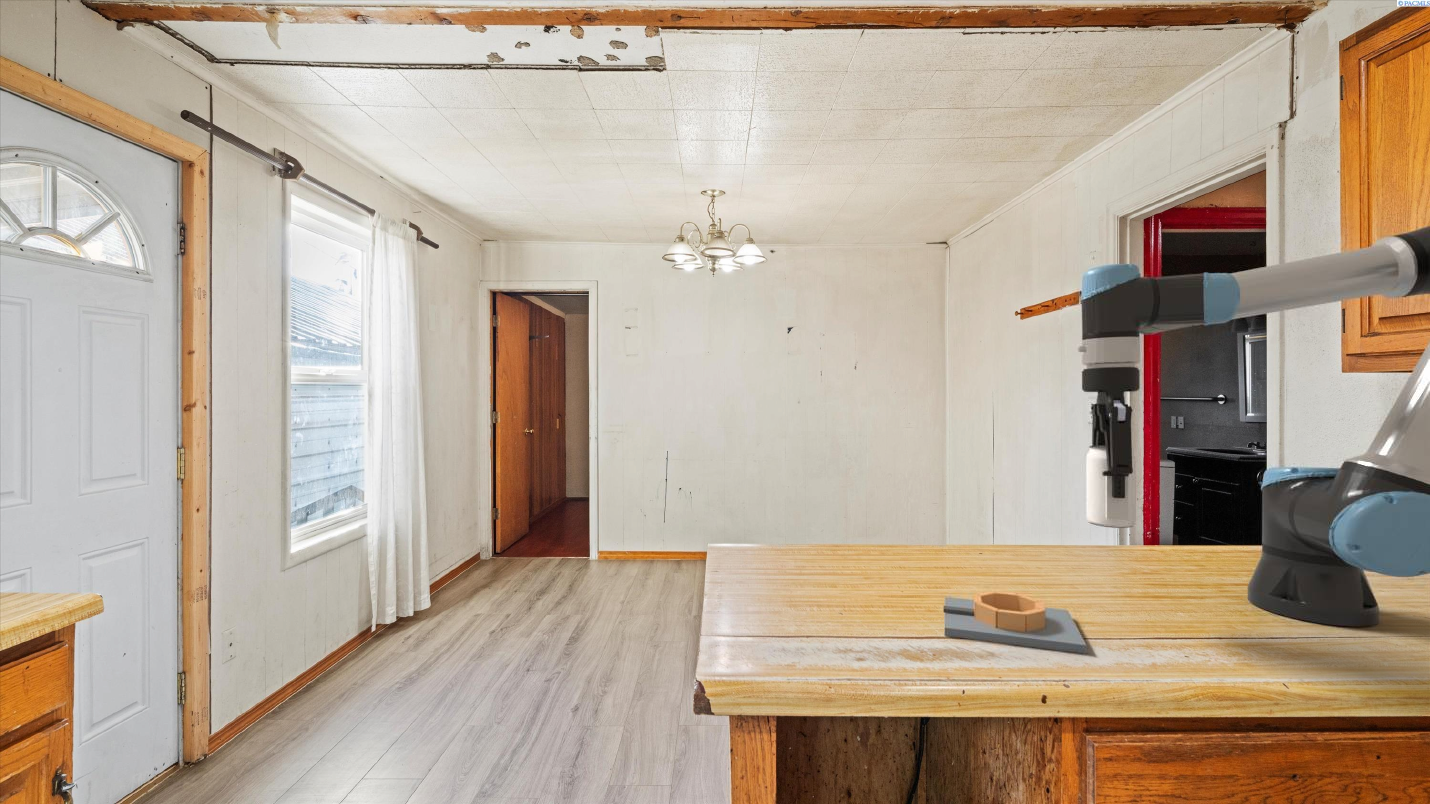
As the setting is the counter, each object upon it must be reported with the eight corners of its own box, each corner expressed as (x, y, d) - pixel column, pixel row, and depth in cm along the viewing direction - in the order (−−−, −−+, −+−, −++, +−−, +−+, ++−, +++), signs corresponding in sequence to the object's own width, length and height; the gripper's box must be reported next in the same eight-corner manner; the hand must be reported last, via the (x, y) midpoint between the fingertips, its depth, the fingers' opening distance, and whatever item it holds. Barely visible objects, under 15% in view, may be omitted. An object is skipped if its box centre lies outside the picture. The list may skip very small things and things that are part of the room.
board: (1067, 617, 95) (1067, 594, 95) (1086, 653, 82) (1086, 626, 82) (943, 603, 102) (943, 581, 102) (943, 635, 89) (943, 610, 89)
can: (1144, 529, 91) (1143, 449, 91) (1096, 527, 92) (1095, 449, 92) (1124, 519, 97) (1123, 445, 97) (1079, 518, 99) (1079, 445, 98)
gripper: (1070, 369, 105) (1071, 502, 105) (1096, 365, 87) (1097, 526, 87) (1121, 367, 102) (1122, 504, 102) (1159, 363, 84) (1159, 529, 84)
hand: (1110, 514), depth 95 cm, fingers closed on can, 6 cm apart
